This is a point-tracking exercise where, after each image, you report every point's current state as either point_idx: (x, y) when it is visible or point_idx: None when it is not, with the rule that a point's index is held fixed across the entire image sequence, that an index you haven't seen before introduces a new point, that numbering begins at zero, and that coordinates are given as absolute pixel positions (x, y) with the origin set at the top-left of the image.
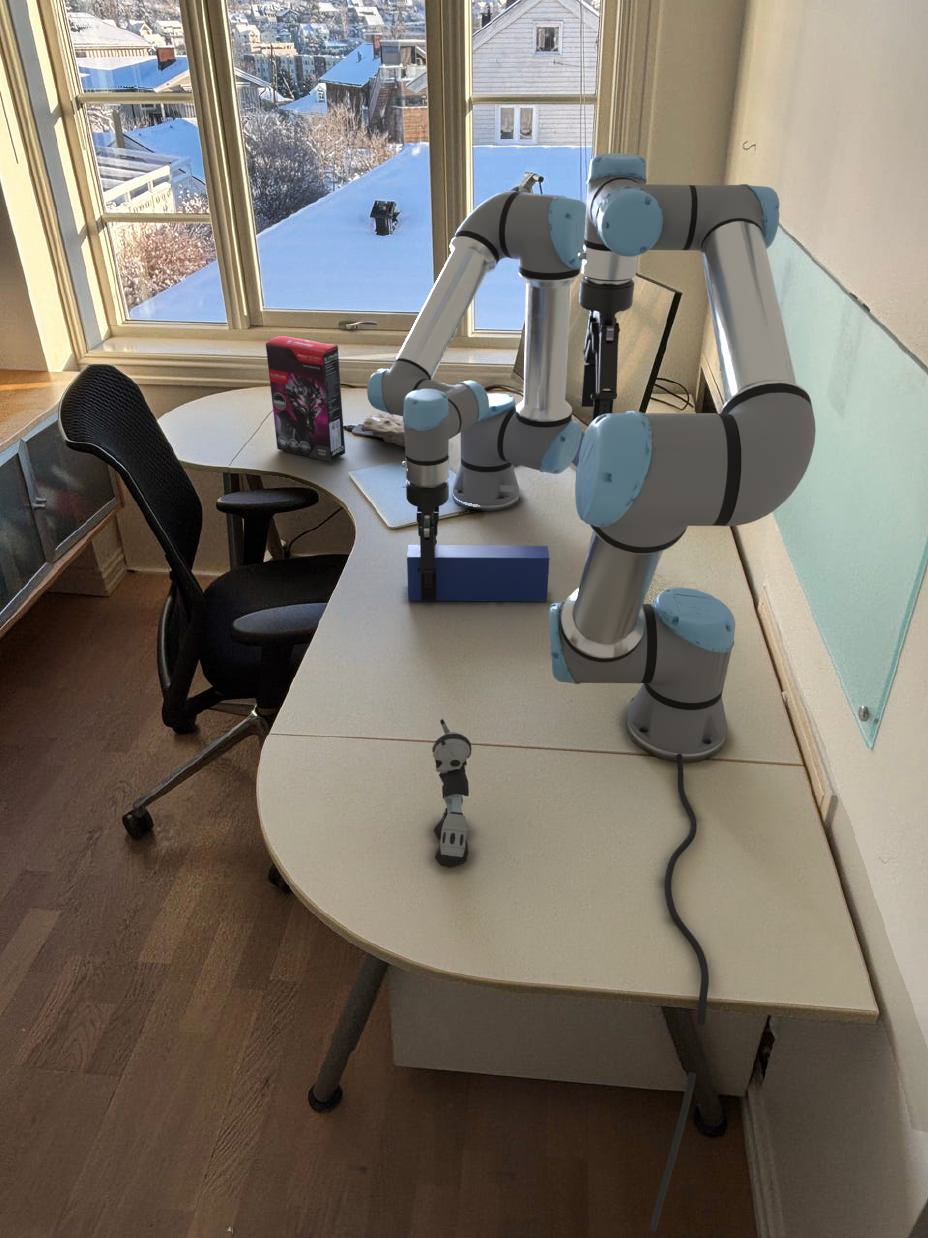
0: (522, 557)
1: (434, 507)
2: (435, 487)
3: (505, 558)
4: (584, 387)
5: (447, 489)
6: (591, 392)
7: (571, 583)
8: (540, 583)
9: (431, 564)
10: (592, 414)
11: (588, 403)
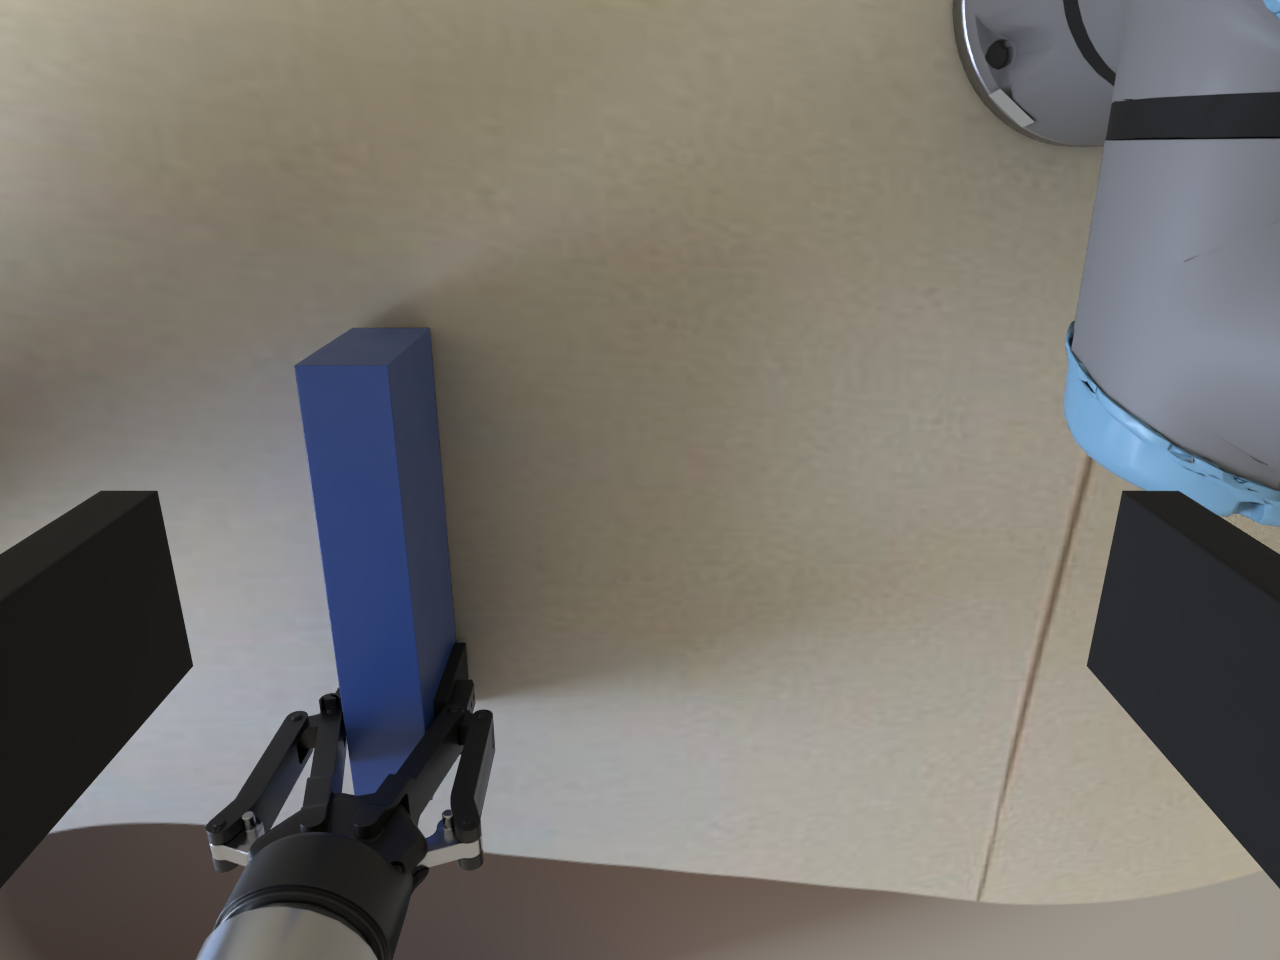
0: (395, 461)
1: (398, 871)
2: (360, 932)
3: (404, 517)
4: (57, 804)
5: (324, 872)
6: (73, 671)
7: (296, 232)
8: (416, 366)
9: (489, 741)
10: (1270, 864)
11: (159, 617)
